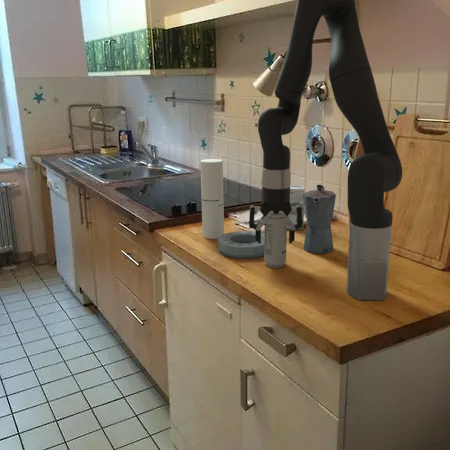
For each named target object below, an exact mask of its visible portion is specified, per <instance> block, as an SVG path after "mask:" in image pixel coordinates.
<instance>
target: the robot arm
mask: <svg viewBox="0 0 450 450" xmlns="http://www.w3.org/2000/svg"><path fill="white" fill-rule="evenodd" d="M322 16H323V18H324V20H325V22H326V26H327V30H328V33H329V37H330V40H331V41H330V42H331V51H330V56H329V65H328V66H329V67H328V78H329V81H330V82H329V83H330V86H331V89H332V93H333V97H334V100H335V103H336V106H337V107H338V108H339V111H340V112H341V113H342V114H343V116H344V118H345V119H346V120H347V121H348V123H349V124H350V125H351V126H352V128H353V129H354V131H355V132H356V134H357V136H358V138H359V140H360V141H359V142H360V143H361V146H362V150H363V155H362V154H361V155H358V156H357V157H356V158H354V160H352V162H351V163H350V166H349V169H348V174H347V209H348V213H349V216H350V220H349V221H350V222H349V223H350V224H349V239H348V240H349V242H348V257H347V259H348V260H347V280H346V292H347V294H348V295H349V296H351V297H353V298H355V299H357V300H358V301H385V300H386V297H387V295H388V294H387V293H388V282H389V267H390V256H391V255H390V254H391V239H392V231H393V230H392V228H393V215H394V214H393V213H392V211H391V210H389V209H387V208H385V193H388V192H392V191H394V190H395V189H396V188H398V187H399V185H400V184H401V182H402V180H403V179H402V178H403V167H402V163H401V162H402V161H401V160H400V156H399V154H398V151H397V149H396V147H395V144H394V142H393V139H392V137H391V134H390V132H389V128H388V126H387V122H386V118H385V115H384V112H383V108H382V105H381V101H380V98H379V94H378V91H377V86H376V82H375V78H374V74H373V71H372V67H371V64H370V62H369V61H370V60H369V58H368V54H367V52H366V46H365V44H364V40H363V36H362V33H361V29H360V24H359V19H358V13H357V6H356V1H355V0H297V1H296V7H295V13H294V18H293V22H292V23H293V24H292V28H291V31H290V32H291V33H290V37H289V43H288V48H287V51H286V54H285V58H284V61H283V64H282V67H281V70H280V72H279V75H278V78H277V81H276V84H275V86H274V92H273V93H274V96H275V97H276V98H277V99H278V104H277V107H271V108H267V109H264V110H263V111H262V112H261V113H260V114H259V117H258V122H257V131H258V135H259V139H260V145H261V148H262V151H263V152H262V153H263V155H262V158H263V160H262V174H261V204H260V206H258V205H257V206H256V205H254V204H250V206H249V218H248V219H249V220H248V227H249V229H252V230H255V231H254V232H255V238H256V241H258V243H261V233H262V230H261V229H262V228H264V226H265V224H266V220H267V218H268V217H269V216H270V214H274V213H279V214H283V215H282V216H284V217H285V219H286V220H287V221H286V224H287V225H288V226H289V227H290V229H288V243H289V244H292V243H293V242H295V239H296V237H295V236H296V230H299V229H298V228H302V208H301V206H300V205H297V206H290V186H291V169H290V168H291V148H290V147H289V146H287V145H285V144H284V143H283V137H282V136H286V135H289V134H290V133H292V131H294V129H295V128H296V125H297V124H298V122H299V118H300V117H299V115H300V112H301V111H300V110H301V101H302V96H303V94H304V92H305V89H306V86H307V84H308V81H309V79H310V76H311V72H312V68H313V43H314V36H315V32H316V30H317V26H318V24H319V23H320V20H321V18H322ZM291 210H292V211H293V212H294V214H296V223H295V224H293V223H292V221H291V220H290V219H289V217H288V215H289V213H290V212H291ZM259 212H260V213H261V214H262V216H261V217H260V218H259V220H258V221H257V223H255V216H256V215H257V214H258V213H259Z"/></svg>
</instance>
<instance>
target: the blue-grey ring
mask: <svg viewBox="0 0 450 450" xmlns="http://www.w3.org/2000/svg"><path fill="white" fill-rule="evenodd" d="M255 232H256V231H254V230H237V231H231V232H224V234H223V235H221V236H219V237H218V239H217V240H218V241H217V249H218V253H219V254H220V255H222V256H225V257H228V258H232V259H238V260H239V259H240V260H241V259H242V260H243V259H244V260H247V259H258V258H261V257H264V241H265V232H261V243H258V241H256V238H255Z"/></svg>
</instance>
